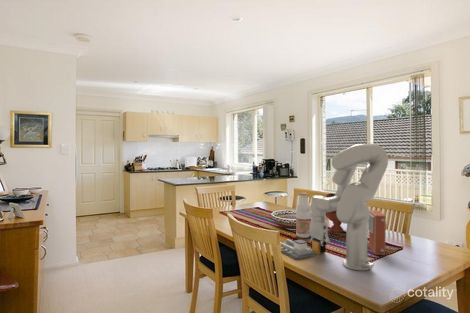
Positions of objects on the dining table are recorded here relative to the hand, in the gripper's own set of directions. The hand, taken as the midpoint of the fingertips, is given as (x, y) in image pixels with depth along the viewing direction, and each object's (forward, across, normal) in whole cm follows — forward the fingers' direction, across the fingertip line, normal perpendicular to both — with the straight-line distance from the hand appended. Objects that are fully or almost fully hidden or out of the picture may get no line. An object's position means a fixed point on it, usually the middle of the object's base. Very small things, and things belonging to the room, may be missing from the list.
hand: (318, 250), depth 166 cm
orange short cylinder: (+1, 0, 0) cm, 1 cm away
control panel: (+1, -14, -30) cm, 33 cm away
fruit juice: (+1, +27, -13) cm, 30 cm away
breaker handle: (-1, +2, +11) cm, 11 cm away
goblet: (+1, +26, -42) cm, 49 cm away
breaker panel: (+1, +8, +11) cm, 14 cm away
